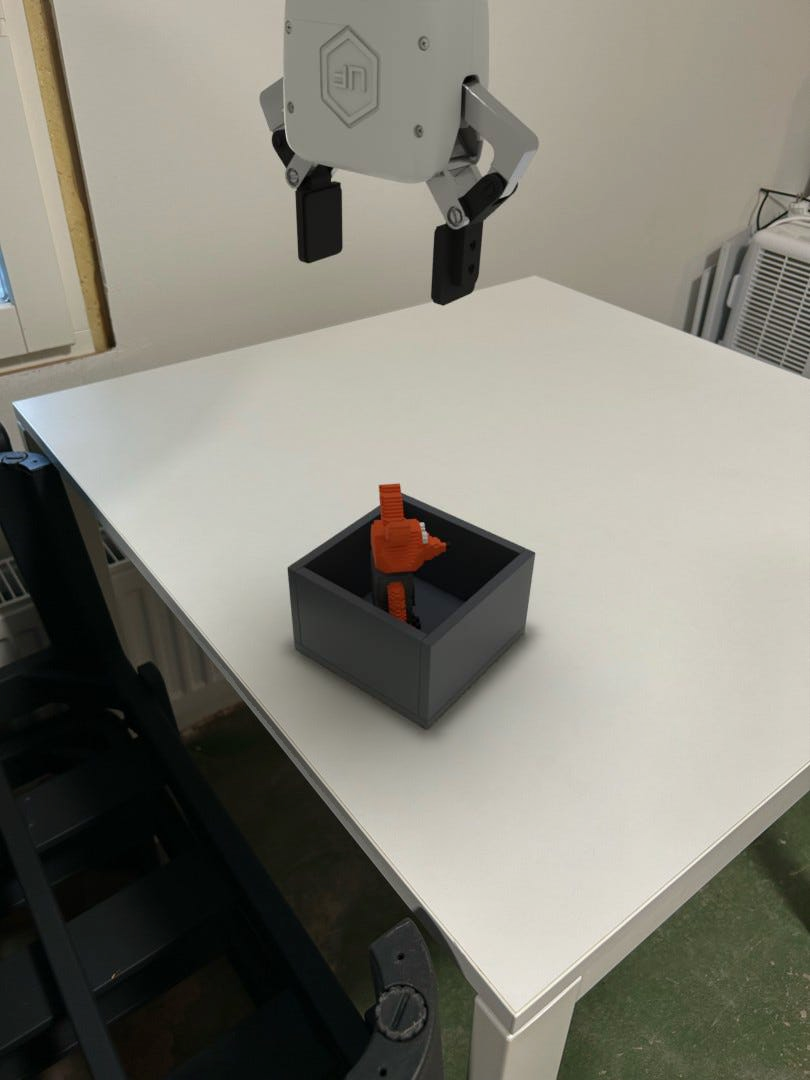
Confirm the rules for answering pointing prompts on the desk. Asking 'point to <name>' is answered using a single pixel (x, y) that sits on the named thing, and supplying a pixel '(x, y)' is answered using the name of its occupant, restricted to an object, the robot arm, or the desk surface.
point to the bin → (440, 602)
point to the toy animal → (398, 556)
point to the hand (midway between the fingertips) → (383, 276)
